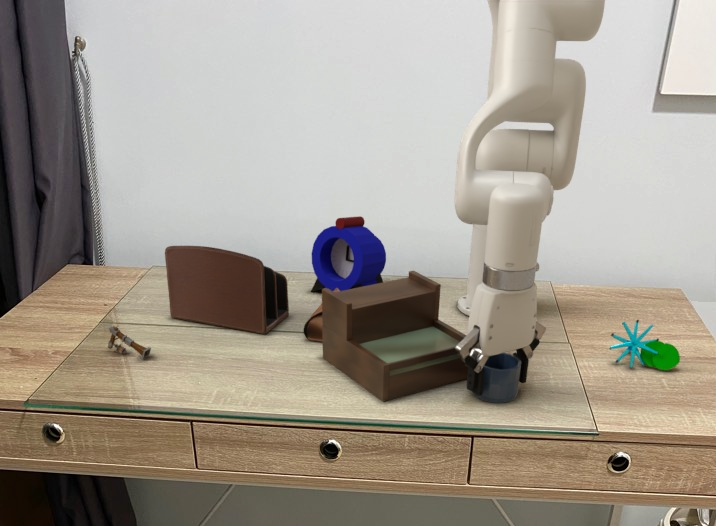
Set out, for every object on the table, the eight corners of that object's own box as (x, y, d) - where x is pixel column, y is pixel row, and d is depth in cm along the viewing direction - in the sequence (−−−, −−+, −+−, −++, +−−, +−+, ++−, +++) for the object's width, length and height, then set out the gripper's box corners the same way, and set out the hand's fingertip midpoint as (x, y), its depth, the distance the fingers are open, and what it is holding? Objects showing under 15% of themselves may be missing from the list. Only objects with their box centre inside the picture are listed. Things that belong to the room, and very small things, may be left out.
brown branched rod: (107, 342, 149) (112, 321, 146) (145, 367, 149) (151, 346, 146) (101, 346, 148) (106, 324, 145) (139, 371, 147) (145, 350, 144)
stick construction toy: (602, 353, 144) (623, 310, 143) (596, 361, 151) (616, 320, 150) (669, 383, 142) (691, 340, 142) (660, 390, 149) (681, 348, 149)
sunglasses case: (349, 342, 151) (330, 308, 148) (316, 357, 154) (297, 325, 151) (373, 306, 165) (356, 275, 162) (343, 321, 168) (326, 290, 166)
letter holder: (265, 335, 155) (261, 256, 146) (170, 318, 160) (160, 242, 152) (289, 316, 162) (286, 239, 154) (197, 300, 168) (190, 226, 160)
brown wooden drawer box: (322, 357, 147) (321, 288, 140) (410, 336, 155) (413, 270, 148) (382, 401, 134) (385, 328, 127) (475, 376, 141) (482, 305, 134)
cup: (498, 380, 140) (502, 348, 137) (526, 396, 136) (530, 364, 132) (465, 389, 137) (468, 357, 134) (492, 406, 133) (495, 373, 130)
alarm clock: (308, 292, 172) (306, 215, 163) (344, 276, 180) (344, 201, 172) (359, 306, 167) (359, 226, 158) (393, 288, 175) (396, 211, 166)
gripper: (537, 259, 132) (523, 365, 142) (445, 278, 124) (437, 389, 135) (571, 273, 127) (554, 382, 137) (477, 294, 119) (466, 408, 129)
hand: (496, 385), depth 136 cm, fingers open, 8 cm apart
